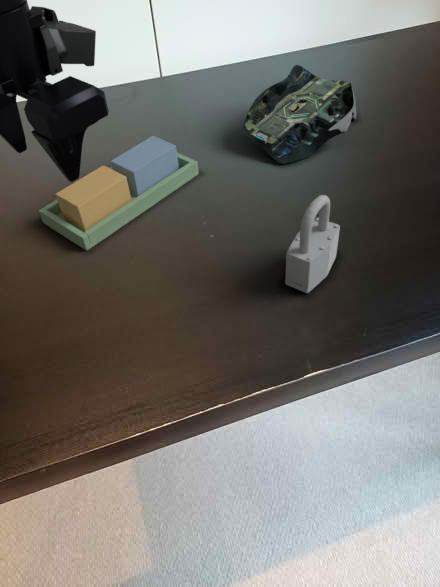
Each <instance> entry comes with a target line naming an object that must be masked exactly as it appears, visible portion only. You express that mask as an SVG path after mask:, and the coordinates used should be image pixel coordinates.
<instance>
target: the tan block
mask: <svg viewBox="0 0 440 587" xmlns="http://www.w3.org/2000/svg"><path fill="white" fill-rule="evenodd" d="M55 197H56V200H58V203H59V206H60V209H61V212H62V214H63V217H64V219H65V220H67V221H69V222H70V223H72V224H73V225H75V226H77V227H78V228H80V229H81V230H83V231H87V230H88V229H90V228H91V227H93V226H94V225H96V224H97V223H99V222H100V221H102V220H103V219H105V218H106V217H108V216H109V215H111V214H112V213H114V212H115V211H117V210H118V209H120V208H121V207H123V206H124V205H126V204H127V203H129V202H130V201H132V200H131V196H130V191H129V187H128V182H127V178H126V176H124V175H122V174H120V173H118V172H116V171H114V170H112V169H110V167H108V166H106V165H104V164H103V165H101V166H99V167H98V168H96V169H95V170H92V171H91V172H89V173H88V174H87V175H85V176H82V177H81V178H79V179H77V180H75V181H74V182H72V184H71V183H70V185H68V186H66V187H64V188H63V189H61V190H59V191H58V192H55Z"/></svg>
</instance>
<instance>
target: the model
mask: <svg viewBox="0 0 440 587" xmlns="http://www.w3.org/2000/svg"><path fill="white" fill-rule="evenodd" d="M352 119H353V120H357V106H356V96H355V92H354V89H353V86H352V82H351V81H348V80H340V79H325V78H321V77H318V76H316V75H315V74H313V73H312V72H310V71H309V70H307V69H306V68H305V67H303V66H301V65H299V64H295V65H294V66H293V67H292V69H291V70H290V72H289V74H288V75H287V76H286V77H285V78H284V79H283V80H281V81H278V82H277V83H275V84H272V85H271V86H269V87H268V88H266V89H264V90H263V91H262V92H261V93H260V94H259V95H258V96H257V97H256V98H255V99H254V101H253V102H252V104H251V105H250V108H249V110H248V111H247V114H246V117H245V118H244V122H243V128H242V133H243V134H244V135H246V136H247V137H249V139H251V140H252V141H254V143H255V144H256V145H258V146H259V148H263V150H264V151H266V152H267V154H268V155H269V156H270V157H271V158H272V159H274V160H275V161H276V162H277V163H278V164H282V165H286V164H289V163H294V162H295V161H299V160H304V159H306V158H309V157H311V156H312V155H313V154H315V153H316V152H317V151H318V150H319V149H320V148H321V147H322V146H323V145H324V144H325V143H327V142H328V141H329V140H331V139H333V138H334V137H337V136H339V135H341V134H343V133H347V132H348V130H349V127H350V125H351V122H352Z"/></svg>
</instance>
